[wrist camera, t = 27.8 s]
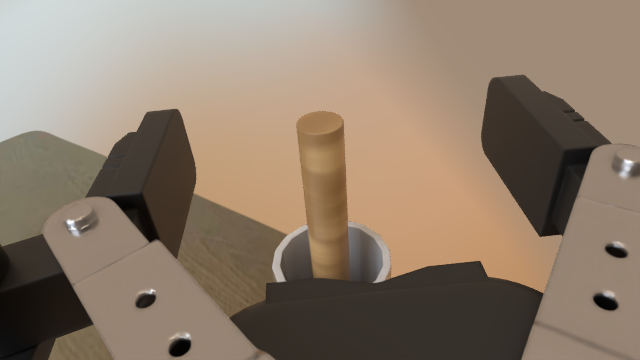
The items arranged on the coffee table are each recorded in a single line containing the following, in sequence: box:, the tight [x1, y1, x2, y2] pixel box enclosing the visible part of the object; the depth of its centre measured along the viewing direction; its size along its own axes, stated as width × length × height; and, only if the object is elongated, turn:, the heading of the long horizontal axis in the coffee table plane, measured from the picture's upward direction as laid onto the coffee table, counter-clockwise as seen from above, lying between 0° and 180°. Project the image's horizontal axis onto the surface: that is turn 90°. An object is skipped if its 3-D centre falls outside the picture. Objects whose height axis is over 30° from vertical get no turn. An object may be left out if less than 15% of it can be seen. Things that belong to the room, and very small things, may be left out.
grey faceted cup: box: [272, 221, 391, 283], centre depth 32 cm, size 7×7×11 cm
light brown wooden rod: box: [296, 111, 350, 281], centre depth 29 cm, size 3×3×20 cm
